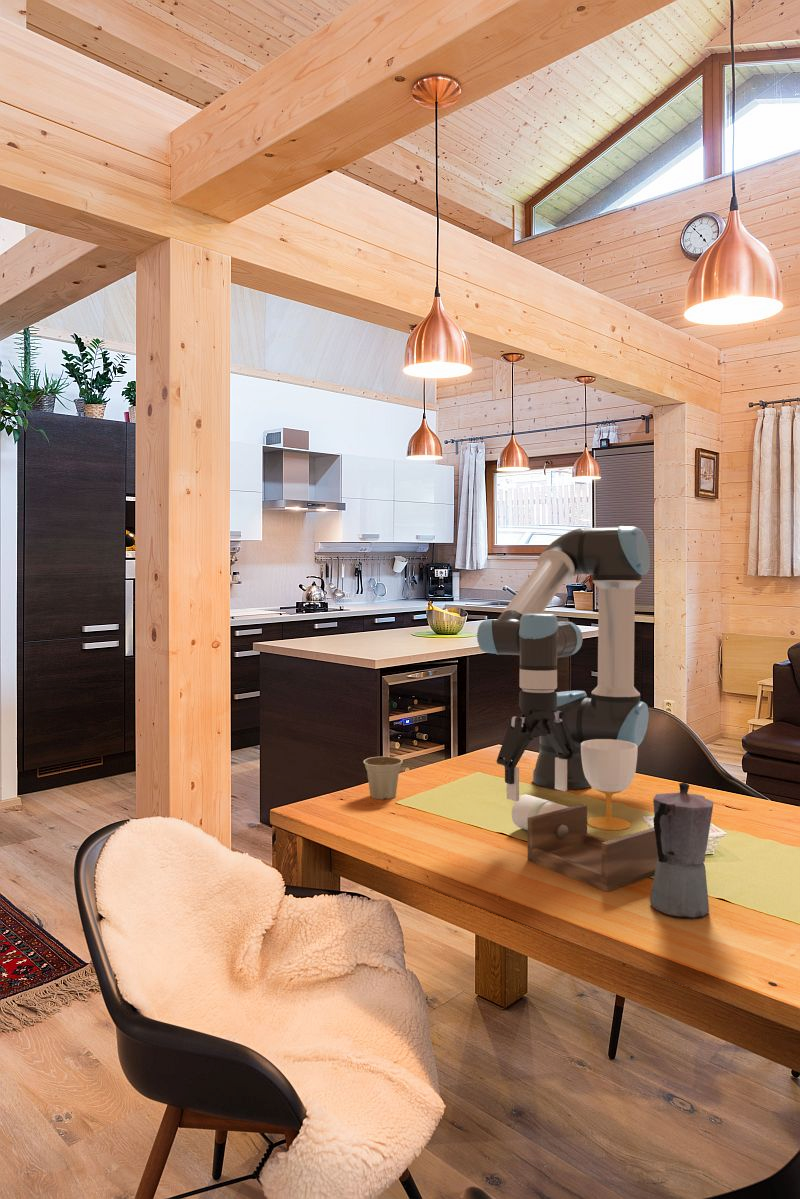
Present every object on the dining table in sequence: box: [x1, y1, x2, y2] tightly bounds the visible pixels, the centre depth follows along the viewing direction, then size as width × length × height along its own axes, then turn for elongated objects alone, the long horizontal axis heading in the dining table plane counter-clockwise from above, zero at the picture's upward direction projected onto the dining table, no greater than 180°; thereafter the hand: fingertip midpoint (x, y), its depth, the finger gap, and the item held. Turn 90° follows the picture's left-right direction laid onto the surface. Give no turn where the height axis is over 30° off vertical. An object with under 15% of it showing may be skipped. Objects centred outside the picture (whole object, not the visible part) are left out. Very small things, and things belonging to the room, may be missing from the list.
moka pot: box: [649, 782, 714, 918], centre depth 129 cm, size 10×15×20 cm, turn 138°
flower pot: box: [363, 756, 403, 800], centre depth 197 cm, size 9×9×9 cm
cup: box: [581, 739, 639, 832], centre depth 174 cm, size 12×12×17 cm
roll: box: [511, 794, 570, 831], centre depth 167 cm, size 12×7×7 cm, turn 36°
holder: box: [527, 803, 658, 892], centre depth 149 cm, size 19×15×8 cm
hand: (537, 794), depth 165 cm, fingers open, 13 cm apart
